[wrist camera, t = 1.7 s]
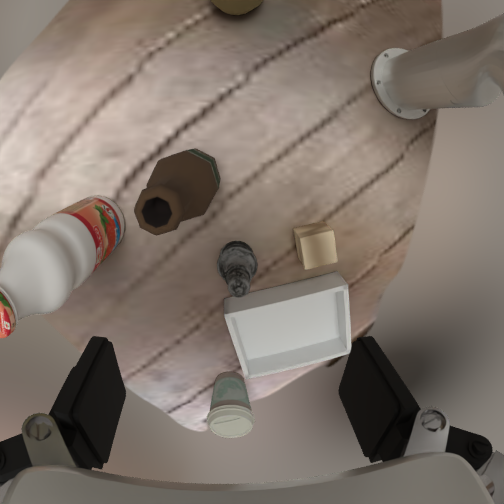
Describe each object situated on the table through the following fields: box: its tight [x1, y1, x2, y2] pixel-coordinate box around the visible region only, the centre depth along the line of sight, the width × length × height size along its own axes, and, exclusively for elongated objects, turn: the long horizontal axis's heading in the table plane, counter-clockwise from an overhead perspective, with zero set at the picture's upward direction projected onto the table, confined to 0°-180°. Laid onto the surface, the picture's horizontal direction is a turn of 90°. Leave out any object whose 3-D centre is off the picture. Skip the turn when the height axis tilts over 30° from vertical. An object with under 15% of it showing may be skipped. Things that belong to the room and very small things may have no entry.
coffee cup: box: [207, 372, 255, 438], centre depth 51 cm, size 8×9×12 cm
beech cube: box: [293, 221, 337, 270], centre depth 45 cm, size 5×5×5 cm
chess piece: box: [217, 241, 257, 298], centre depth 41 cm, size 6×6×12 cm
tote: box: [224, 271, 351, 379], centre depth 50 cm, size 20×15×5 cm
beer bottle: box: [134, 149, 220, 235], centre depth 31 cm, size 8×8×24 cm
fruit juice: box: [0, 196, 125, 338], centre depth 30 cm, size 9×9×28 cm
